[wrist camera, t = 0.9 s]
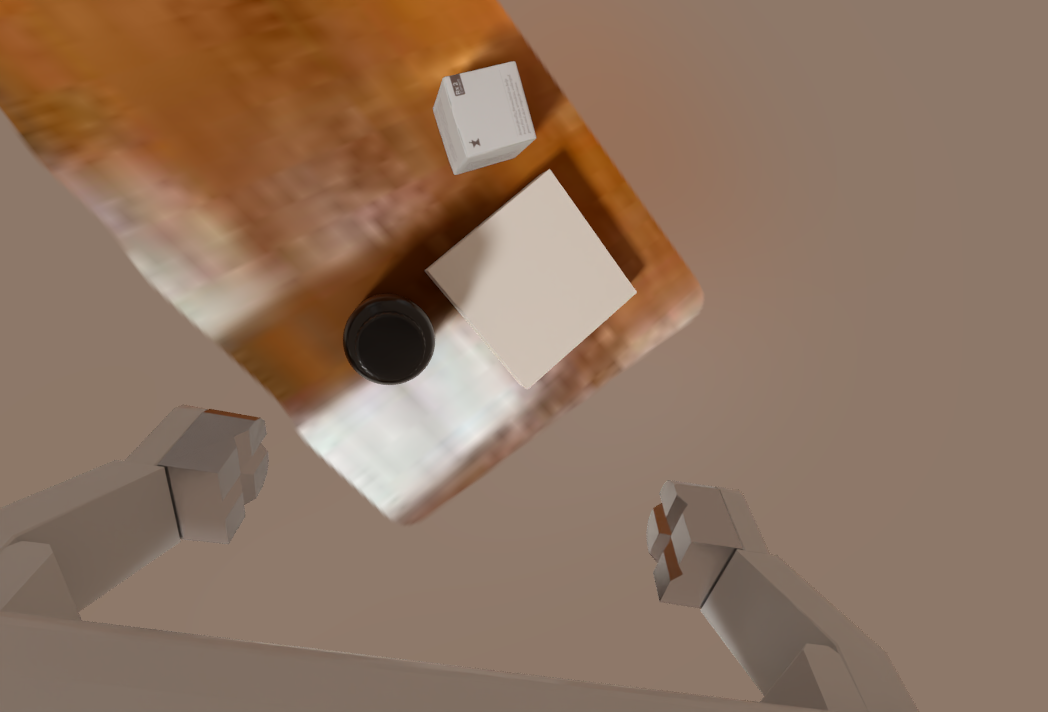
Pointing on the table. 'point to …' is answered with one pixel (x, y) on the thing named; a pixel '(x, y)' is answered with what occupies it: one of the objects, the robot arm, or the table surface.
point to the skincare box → (483, 117)
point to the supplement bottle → (388, 339)
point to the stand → (532, 279)
